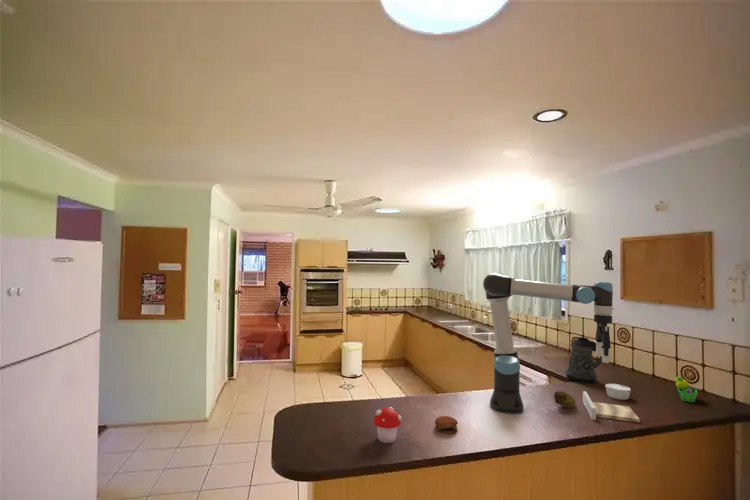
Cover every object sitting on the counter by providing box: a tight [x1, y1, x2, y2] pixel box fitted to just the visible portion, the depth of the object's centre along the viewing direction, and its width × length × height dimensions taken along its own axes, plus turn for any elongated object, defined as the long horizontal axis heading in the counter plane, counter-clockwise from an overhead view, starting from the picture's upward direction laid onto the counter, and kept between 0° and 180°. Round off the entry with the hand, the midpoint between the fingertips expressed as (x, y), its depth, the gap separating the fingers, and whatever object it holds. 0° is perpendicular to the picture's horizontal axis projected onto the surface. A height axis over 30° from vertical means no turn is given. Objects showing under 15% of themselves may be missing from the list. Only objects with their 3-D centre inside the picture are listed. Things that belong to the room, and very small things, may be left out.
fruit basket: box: [674, 376, 698, 403], centre depth 200 cm, size 11×9×11 cm
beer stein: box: [565, 336, 603, 384], centre depth 232 cm, size 16×19×25 cm
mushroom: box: [373, 406, 402, 444], centre depth 149 cm, size 11×11×12 cm
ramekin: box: [604, 383, 632, 401], centre depth 202 cm, size 11×11×5 cm
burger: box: [434, 415, 459, 434], centre depth 159 cm, size 10×9×5 cm
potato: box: [553, 390, 576, 409], centre depth 186 cm, size 8×13×8 cm, turn 106°
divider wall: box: [582, 391, 597, 421], centre depth 183 cm, size 2×24×5 cm, turn 160°
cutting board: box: [592, 401, 641, 423], centre depth 179 cm, size 17×16×2 cm
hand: (602, 359), depth 182 cm, fingers open, 13 cm apart
